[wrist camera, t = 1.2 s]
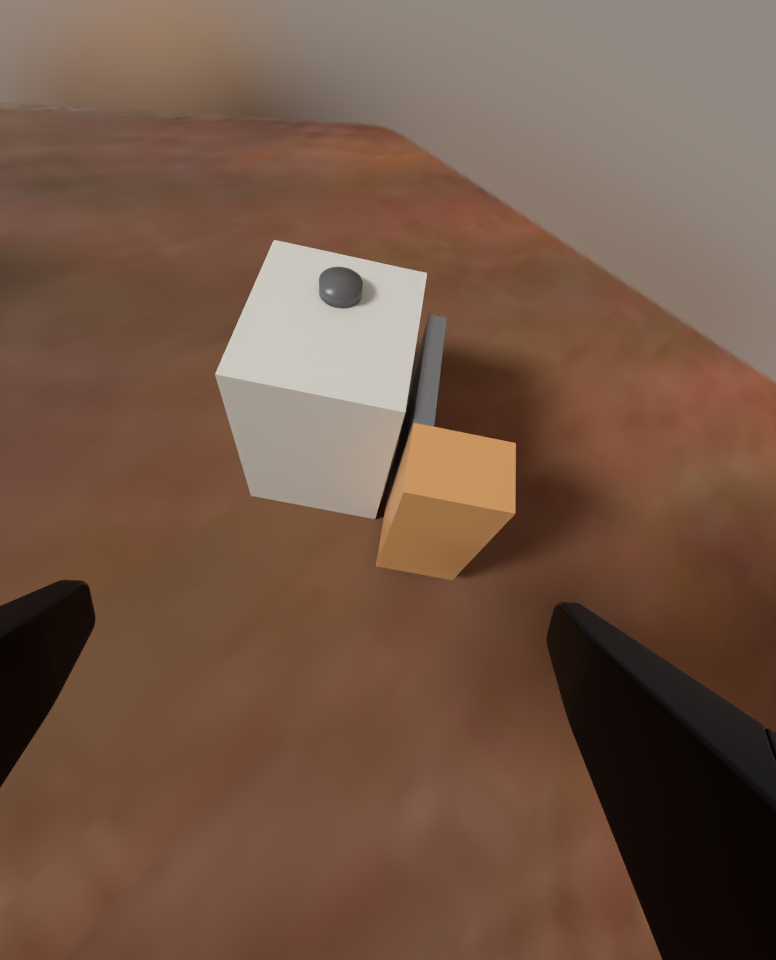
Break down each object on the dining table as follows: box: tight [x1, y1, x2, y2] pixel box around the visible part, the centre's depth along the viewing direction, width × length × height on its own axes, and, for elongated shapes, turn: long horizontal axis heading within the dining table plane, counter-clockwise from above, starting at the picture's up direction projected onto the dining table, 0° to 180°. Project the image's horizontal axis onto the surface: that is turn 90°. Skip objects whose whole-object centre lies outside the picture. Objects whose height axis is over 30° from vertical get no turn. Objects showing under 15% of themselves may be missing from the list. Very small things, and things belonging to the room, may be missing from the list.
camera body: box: [215, 240, 427, 519], centre depth 23 cm, size 10×7×11 cm
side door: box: [376, 314, 516, 580], centre depth 22 cm, size 9×4×8 cm, turn 172°
